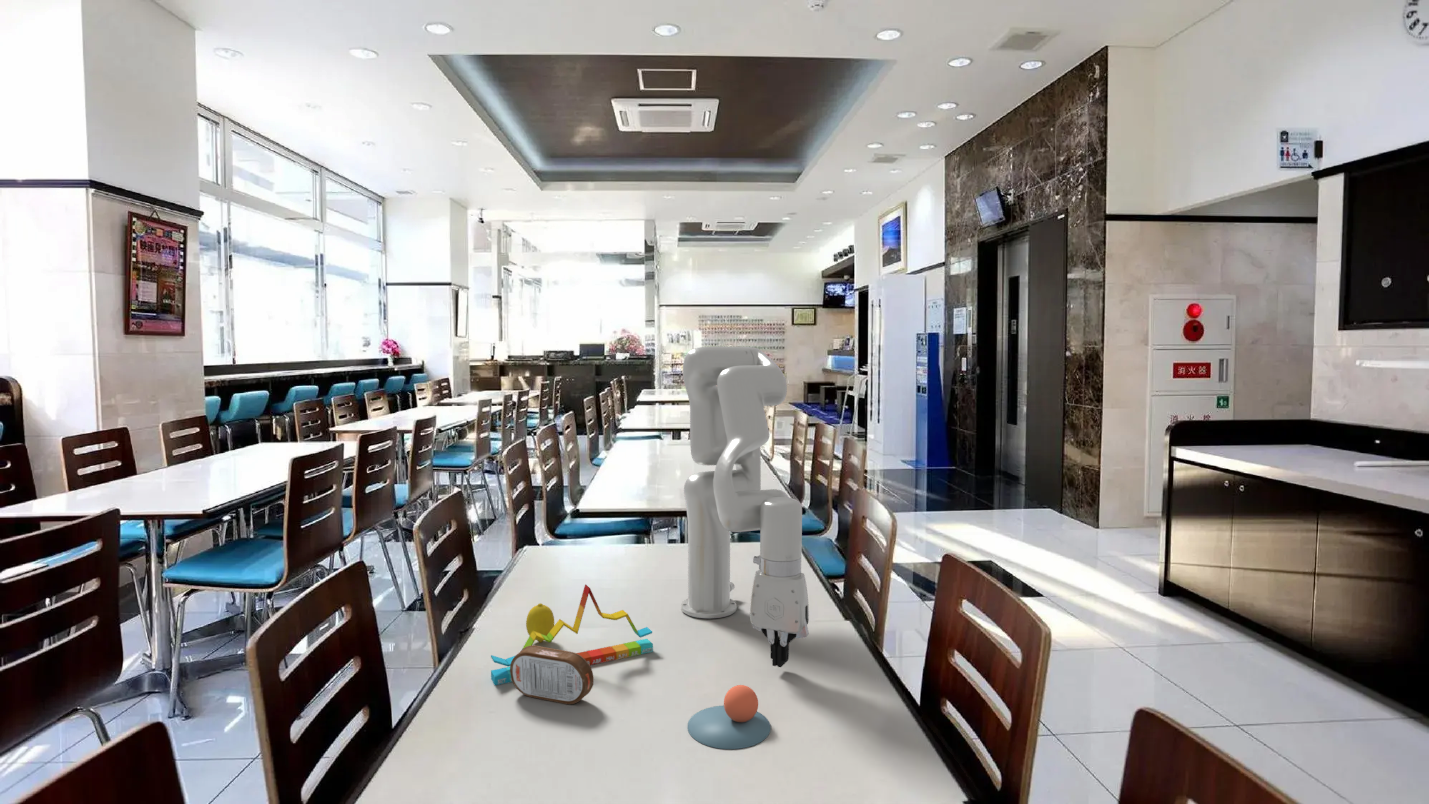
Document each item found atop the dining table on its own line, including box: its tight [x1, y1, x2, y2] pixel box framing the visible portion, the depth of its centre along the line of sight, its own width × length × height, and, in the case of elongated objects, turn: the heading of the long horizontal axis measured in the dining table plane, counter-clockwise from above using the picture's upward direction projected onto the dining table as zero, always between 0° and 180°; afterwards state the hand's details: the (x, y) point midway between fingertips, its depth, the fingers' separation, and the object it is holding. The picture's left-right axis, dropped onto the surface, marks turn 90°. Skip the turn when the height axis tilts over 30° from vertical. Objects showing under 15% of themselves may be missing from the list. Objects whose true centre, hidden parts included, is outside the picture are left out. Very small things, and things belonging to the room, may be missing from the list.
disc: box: [687, 704, 771, 750], centre depth 115 cm, size 13×13×1 cm
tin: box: [509, 644, 595, 705], centre depth 123 cm, size 15×3×8 cm, turn 71°
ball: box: [723, 684, 759, 722], centre depth 116 cm, size 6×6×6 cm
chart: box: [490, 584, 654, 686], centre depth 136 cm, size 30×3×15 cm, turn 119°
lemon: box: [525, 602, 555, 643], centre depth 147 cm, size 6×6×8 cm
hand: (779, 663), depth 134 cm, fingers closed
